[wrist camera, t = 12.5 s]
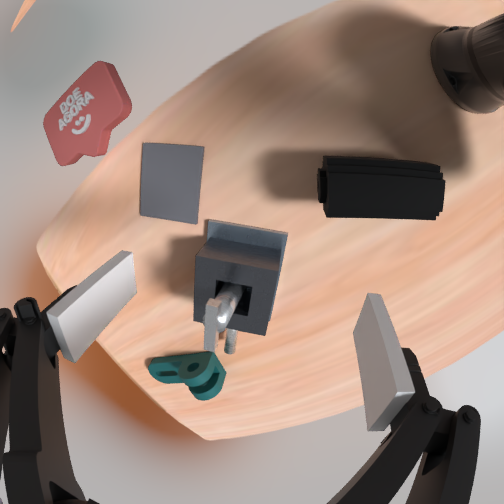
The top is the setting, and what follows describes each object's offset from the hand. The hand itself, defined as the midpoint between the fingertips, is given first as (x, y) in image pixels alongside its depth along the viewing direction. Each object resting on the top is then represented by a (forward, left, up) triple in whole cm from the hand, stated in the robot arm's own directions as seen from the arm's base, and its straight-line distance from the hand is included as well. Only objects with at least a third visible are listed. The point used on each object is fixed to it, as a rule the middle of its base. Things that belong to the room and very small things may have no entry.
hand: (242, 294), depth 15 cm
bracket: (+40, -13, -28) cm, 51 cm away
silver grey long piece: (+14, -3, -26) cm, 30 cm away
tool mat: (+1, -16, -28) cm, 32 cm away
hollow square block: (+17, -3, -28) cm, 32 cm away
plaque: (-9, -33, -28) cm, 45 cm away
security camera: (-5, +14, -28) cm, 32 cm away
